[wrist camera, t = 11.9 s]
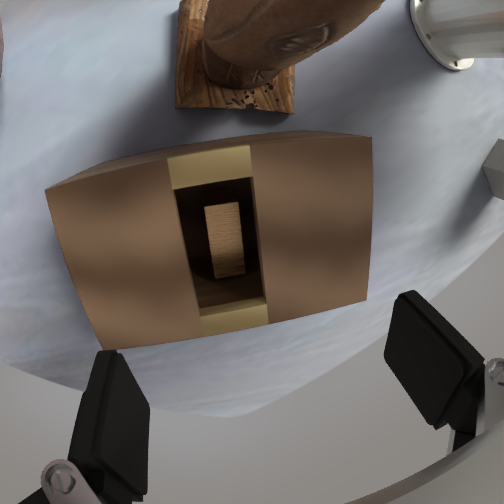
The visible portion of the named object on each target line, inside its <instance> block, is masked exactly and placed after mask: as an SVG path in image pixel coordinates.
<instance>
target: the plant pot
mask: <svg viewBox="0 0 504 504" xmlns="http://www.w3.org/2000/svg"><path fill="white" fill-rule="evenodd" d="M3 49H4V44H3V35H2V24H1V18H0V77H1V73H2V59H3Z"/></svg>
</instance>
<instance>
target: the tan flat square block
mask: <svg viewBox="0 0 504 504" xmlns="http://www.w3.org/2000/svg"><path fill="white" fill-rule="evenodd" d="M202 195H203V203H204V210H205V217H206V224H207V231H208V238H209V245H210V251H211V257H212V263H213V269H214V275H215V279H218V278H224V277H230V276H236V275H242V274H246V272H245V262H244V253H243V243H242V234H241V224H240V214H239V205H238V201H237V199H236V198H235V196H234V194H233V193H232V191H231V189H230V188H229V187H221V188H214V189H207V190H202Z"/></svg>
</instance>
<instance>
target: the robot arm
mask: <svg viewBox="0 0 504 504" xmlns="http://www.w3.org/2000/svg"><path fill="white" fill-rule="evenodd" d="M410 13H411V17H412V21H413V24H414V27H415V30H416V32H417V34H418V36H419V38H420V40H421V41H422V43H423V45H424V46H425V47H426V49H427V50H428V51H429V53H430V54H431V55H432V56H433V57H434V58H435V59H436V60H437V61H438V62H439V63H441V64H442V65H443V66H445V67H447V68H449V69H452V70H466V69H468V68H469V67H470V66H471V65H472V64H473V62H474V61H475V58H504V0H411V1H410ZM384 359H385V361H386V363H387V364H388V366H389V367H390V369H391V370H392V371H393V373H394V374H395V376H396V377H397V379H398V380H399V382H400V383H401V384H402V386H403V387H404V389H405V390H406V392H407V393H408V395H409V396H410V398H411V399H412V401H413V402H414V404H415V405H416V407H417V408H418V410H419V411H420V413H421V414H422V416H423V417H424V419H425V420H426V422H427V423H428V424H429V425H433V427H434V428H435V430H437V429H439V428H441V427H443V426H444V425H446V424H447V423H449V425H450V427H451V431H450V437H449V444H448V450H447V455H446V457H444V458H442V459H441V460H439V461H438V462H436V463H434V464H432V465H430V466H429V467H427V468H425V469H423V470H421V471H419V472H417V473H415V474H414V475H412V476H410V477H408V478H406V479H404V480H401V481H399V482H398V483H395V484H393V485H391V486H388V487H386V488H384V489H382V490H379V491H377V492H375V493H372V494H370V495H367V496H365V497H362V498H360V499H357V500H354V501H352V502H349V503H346V504H504V359H502V358H494V359H491V360H490V361H489V362H487V364H486V366H485V364H484V363H483V362H484V360H485V359H484V358H483V357H482V356H481V354H480V353H479V352H478V351H477V350H476V349H475V348H474V347H473V346H472V345H471V344H470V343H469V342H468V341H467V340H466V339H465V338H464V337H463V336H462V335H461V334H460V333H459V332H458V331H457V330H456V329H455V328H454V327H453V326H452V325H451V324H450V323H449V322H448V321H447V320H446V319H445V318H444V317H443V316H442V315H441V314H440V313H439V312H438V311H437V310H436V309H435V308H434V307H433V306H432V305H431V304H429V303H428V302H427V301H426V300H425V299H424V298H423V297H422V296H421V295H420V294H419V293H418V292H417V291H415V290H411V291H407V292H404V293H401V294H399V295H398V298H397V299H396V300H395V302H394V307H393V313H392V318H391V323H390V328H389V332H388V337H387V342H386V346H385V350H384ZM149 421H150V407H149V403H148V401H147V400H146V398H145V396H144V394H143V393H142V391H141V389H140V387H139V385H138V384H137V382H136V380H135V378H134V376H133V374H132V372H131V370H130V369H129V367H128V365H127V363H126V361H125V359H124V357H123V355H122V354H121V353H117V351H116V350H103V351H98V353H97V355H96V358H95V361H94V365H93V368H92V371H91V375H90V378H89V382H88V385H87V389H86V391H84V393H83V395H82V398H81V402H80V406H79V410H78V414H77V418H76V422H75V426H74V431H73V435H72V439H71V444H70V449H69V454H68V459H67V460H63V459H58V460H54V461H52V462H50V463H49V464H48V465H46V467H45V468H44V470H43V471H42V475H41V485H42V487H41V488H40V489H38V490H37V491H36V492H34V493H33V494H31V495H30V496H29V497H27V498H26V499H24V500H23V501H21V502H20V503H18V504H132V501H135V502H143V495H146V494H147V487H148V486H147V485H148V482H147V481H148V480H147V479H148V476H147V475H148V440H149Z"/></svg>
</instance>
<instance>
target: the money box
mask: <svg viewBox="0 0 504 504" xmlns="http://www.w3.org/2000/svg"><path fill="white" fill-rule="evenodd" d="M221 187H229V188H230V189H231V191H232V193H233V194H234V196H235V198H236V199H237V201H238V205H239V214H240V224H241V234H242V243H243V253H244V262H245V272H246V274H242V275H236V276H230V277H224V278H218V279H215V275H214V269H213V263H212V257H211V251H210V245H209V238H208V231H207V224H206V217H205V210H204V203H203V195H202V190H207V189H214V188H221ZM45 194H46V198H47V202H48V206H49V210H50V213H51V217H52V221H53V224H54V227H55V231H56V234H57V237H58V240H59V244H60V247H61V250H62V253H63V256H64V259H65V261H66V264H67V267H68V270H69V272H70V275H71V278H72V280H73V283H74V286H75V288H76V291H77V293H78V296H79V298H80V300H81V303H82V305H83V308H84V310H85V312H86V314H87V317H88V319H89V321H90V323H91V325H92V328H93V330H94V332H95V334H96V336H97V338H98V340H99V342H100V344H101V346H102V348H103V350H118V349H127V348H135V347H142V346H150V345H157V344H164V343H170V342H177V341H183V340H189V339H195V338H201V337H207V336H212V335H218V334H223V333H229V332H234V331H239V330H244V329H249V328H254V327H259V326H263V325H268V324H273V323H277V322H282V321H286V320H291V319H295V318H299V317H303V316H308V315H312V314H316V313H320V312H324V311H328V310H332V309H336V308H339V307H343V306H347V305H351V304H354V303H358V302H362V301H365V300H366V299H367V289H368V279H369V267H370V252H371V235H372V204H373V166H372V137H367V136H359V135H351V134H342V133H332V132H320V131H307V130H302V131H288V132H277V133H266V134H257V135H248V136H240V137H232V138H225V139H218V140H211V141H205V142H198V143H192V144H187V145H181V146H176V147H170V148H165V149H160V150H155V151H151V152H146V153H141V154H137V155H133V156H128V157H124V158H120V159H116V160H112V161H108V162H104V163H100V164H98V165H96V166H93V167H91V168H89V169H87V170H85V171H82V172H80V173H78V174H76V175H74V176H72V177H70V178H68V179H66V180H64V181H62V182H60V183H58V184H56V185H54V186H52V187H50V188H48V189H46V190H45Z"/></svg>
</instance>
